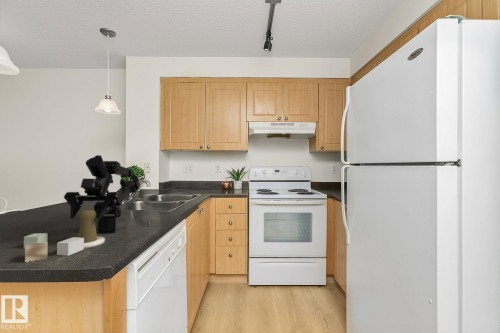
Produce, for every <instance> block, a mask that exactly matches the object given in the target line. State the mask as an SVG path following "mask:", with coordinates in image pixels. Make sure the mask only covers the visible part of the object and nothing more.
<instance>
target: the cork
mask: <svg viewBox="0 0 500 333" xmlns="http://www.w3.org/2000/svg"><path fill="white" fill-rule="evenodd" d="M78 216H79V217H78V218H79V220H80V223H79V230H78V234H77V235H78V236H77V237H78V238H84V243H89V242H93V241H96V240H97V236H98V233H97V229H96V228H97V227H96V222H95V219H96V212H95V211H94V209H85V210H82V211H80V212H79V213H78Z"/></svg>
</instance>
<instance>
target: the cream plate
mask: <svg viewBox="0 0 500 333" xmlns="http://www.w3.org/2000/svg"><path fill="white" fill-rule="evenodd" d="M105 240H106V238H105V237H104V236H98V235H97V240H96V241H93V242H89V243H84V249H89V248H93V247H97V246H100V245H103V244H104V243H105V242H106V241H105Z"/></svg>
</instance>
